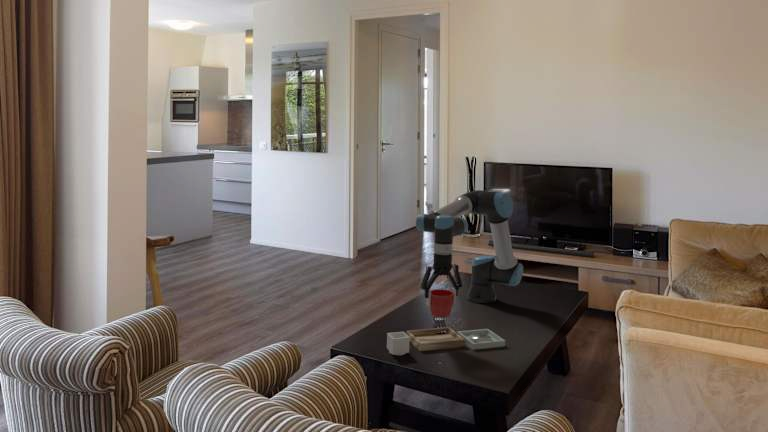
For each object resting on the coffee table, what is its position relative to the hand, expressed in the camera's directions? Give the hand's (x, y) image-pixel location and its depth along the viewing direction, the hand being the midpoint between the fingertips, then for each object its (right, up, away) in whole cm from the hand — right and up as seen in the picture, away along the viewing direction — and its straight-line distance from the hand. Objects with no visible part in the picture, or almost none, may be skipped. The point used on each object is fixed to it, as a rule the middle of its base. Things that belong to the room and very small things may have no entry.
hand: (440, 304), depth 247 cm
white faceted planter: (-18, -17, -10) cm, 27 cm away
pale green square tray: (+17, -16, +4) cm, 24 cm away
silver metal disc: (+17, -15, +3) cm, 23 cm away
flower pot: (0, -5, +1) cm, 5 cm away
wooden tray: (-2, -16, +2) cm, 16 cm away
